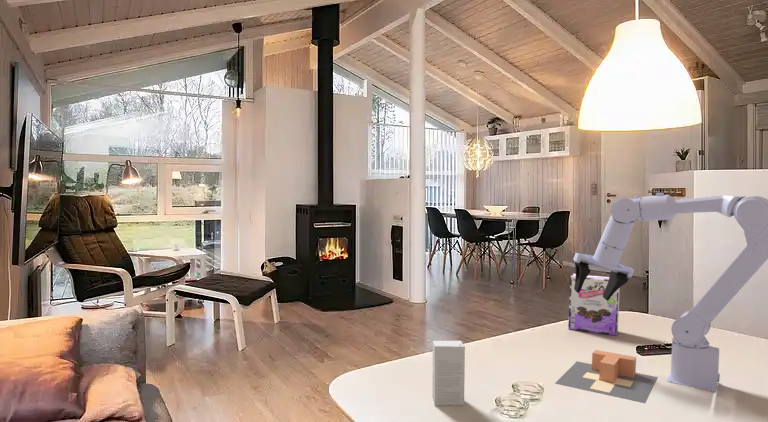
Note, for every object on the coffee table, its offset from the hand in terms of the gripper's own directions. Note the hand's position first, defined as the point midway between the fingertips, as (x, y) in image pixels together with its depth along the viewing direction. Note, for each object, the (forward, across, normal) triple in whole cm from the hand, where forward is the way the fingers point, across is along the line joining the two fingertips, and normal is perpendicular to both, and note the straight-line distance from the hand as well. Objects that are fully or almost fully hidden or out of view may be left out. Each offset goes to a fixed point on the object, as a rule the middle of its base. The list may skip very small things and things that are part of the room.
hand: (590, 294), depth 135 cm
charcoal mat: (+13, -2, +18) cm, 22 cm away
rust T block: (+13, -4, +15) cm, 20 cm away
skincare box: (+20, +34, +30) cm, 50 cm away
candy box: (+19, -17, -24) cm, 35 cm away
